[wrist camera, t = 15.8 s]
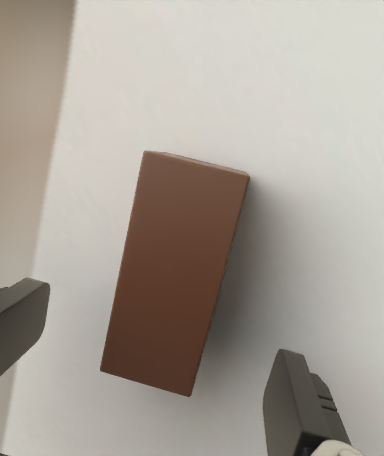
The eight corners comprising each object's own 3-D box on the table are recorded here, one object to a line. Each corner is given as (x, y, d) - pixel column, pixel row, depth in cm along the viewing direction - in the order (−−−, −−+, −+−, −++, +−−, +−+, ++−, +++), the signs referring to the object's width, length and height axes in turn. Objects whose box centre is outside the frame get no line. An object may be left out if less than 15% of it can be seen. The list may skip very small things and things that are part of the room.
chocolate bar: (125, 329, 15) (98, 371, 12) (163, 151, 13) (143, 150, 10) (199, 350, 14) (190, 398, 12) (247, 172, 13) (251, 176, 10)
